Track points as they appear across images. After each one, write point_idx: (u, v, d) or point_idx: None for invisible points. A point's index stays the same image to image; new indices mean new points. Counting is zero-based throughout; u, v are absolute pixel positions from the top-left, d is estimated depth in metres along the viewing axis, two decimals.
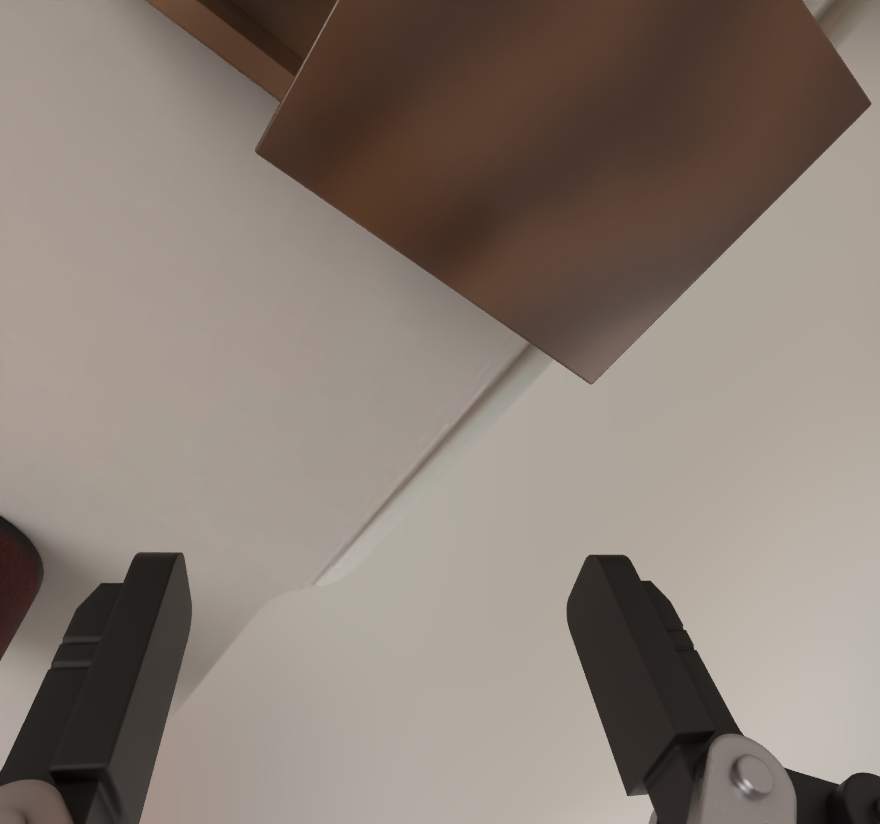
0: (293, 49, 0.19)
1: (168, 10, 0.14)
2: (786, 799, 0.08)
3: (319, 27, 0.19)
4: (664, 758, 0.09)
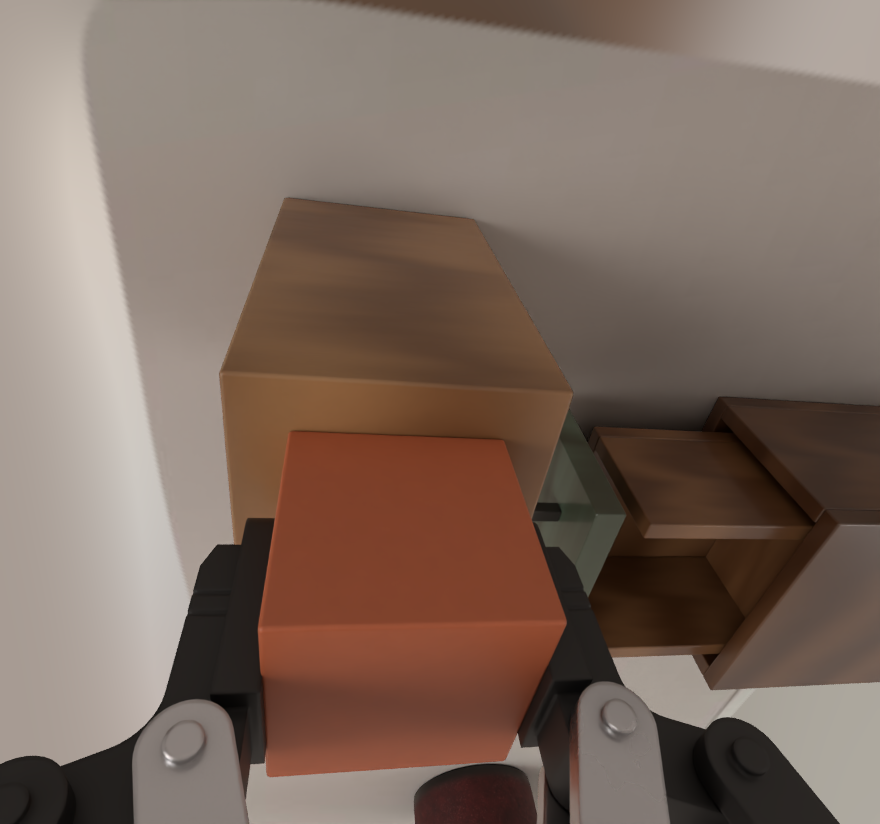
0: (655, 555, 0.31)
1: (650, 654, 0.27)
2: (647, 739, 0.08)
3: (668, 542, 0.31)
4: (547, 707, 0.09)
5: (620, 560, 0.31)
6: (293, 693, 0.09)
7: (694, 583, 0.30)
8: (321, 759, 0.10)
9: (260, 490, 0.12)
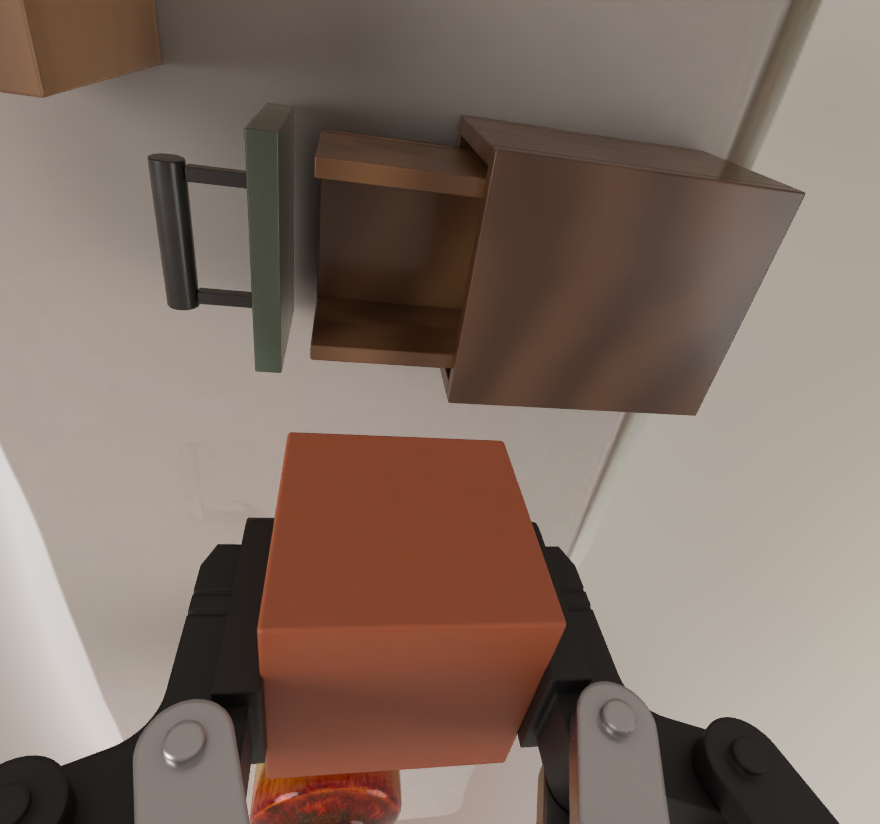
0: (426, 305, 0.32)
1: (384, 361, 0.27)
2: (647, 739, 0.08)
3: (436, 287, 0.31)
4: (546, 707, 0.09)
5: (386, 304, 0.31)
6: (292, 695, 0.09)
7: (456, 322, 0.30)
8: (321, 760, 0.10)
9: None
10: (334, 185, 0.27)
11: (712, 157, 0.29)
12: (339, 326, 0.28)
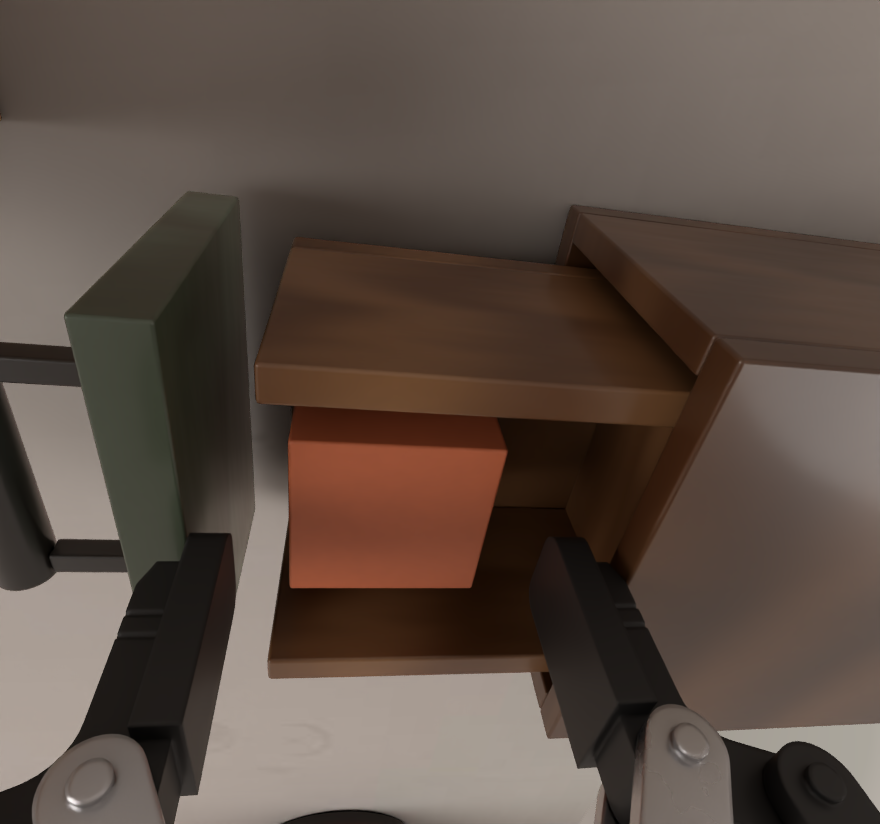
0: None
1: (408, 672, 0.14)
2: (719, 765, 0.08)
3: None
4: (609, 729, 0.09)
5: None
6: (311, 503, 0.12)
7: (530, 548, 0.18)
8: (331, 572, 0.13)
9: None
10: None
11: None
12: None
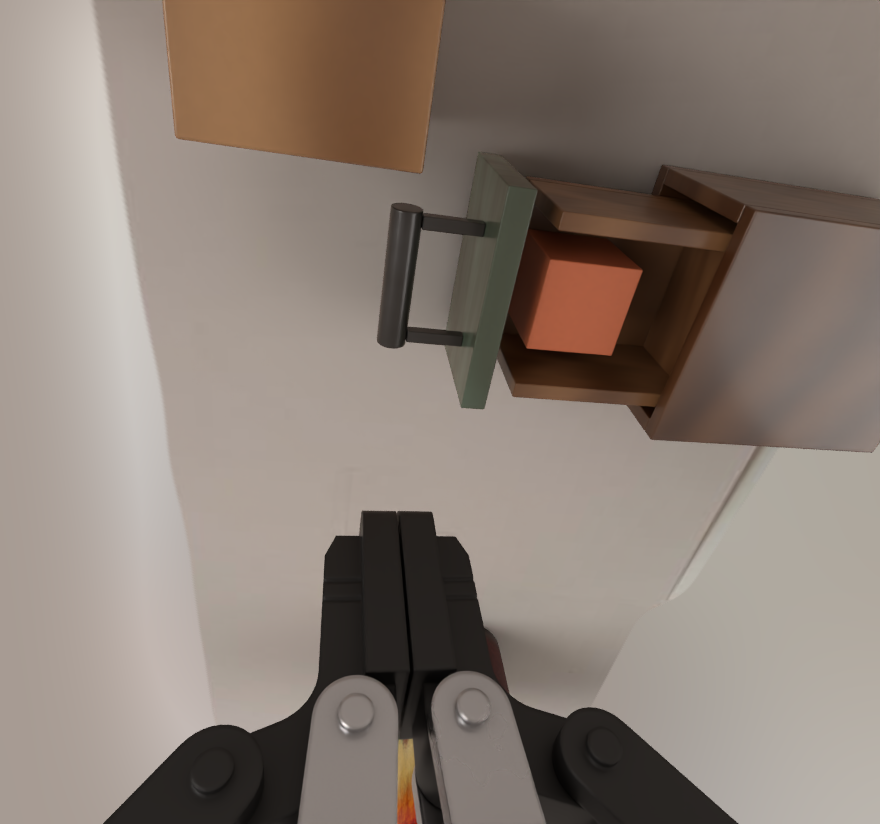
0: None
1: (579, 399, 0.28)
2: (500, 729, 0.08)
3: None
4: (415, 698, 0.09)
5: None
6: (550, 295, 0.26)
7: (628, 359, 0.31)
8: (548, 338, 0.27)
9: None
10: None
11: None
12: (530, 363, 0.29)
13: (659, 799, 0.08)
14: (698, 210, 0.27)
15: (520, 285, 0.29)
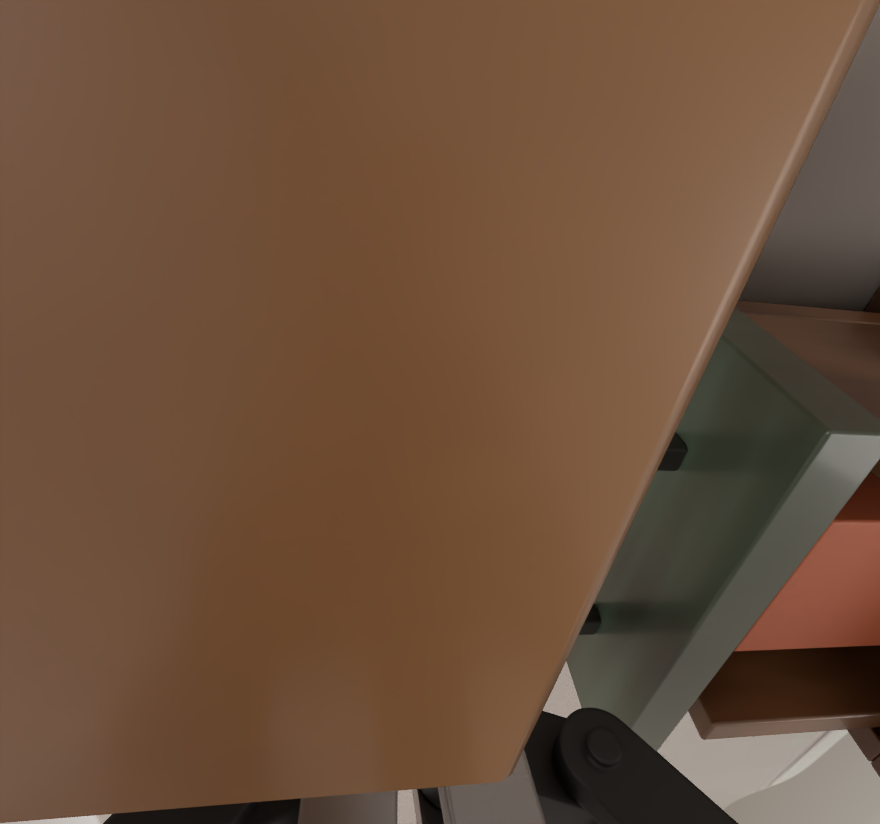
0: None
1: (823, 728, 0.14)
2: None
3: None
4: None
5: None
6: (810, 575, 0.12)
7: None
8: (780, 636, 0.13)
9: None
10: None
11: None
12: None
13: (659, 799, 0.08)
14: None
15: None
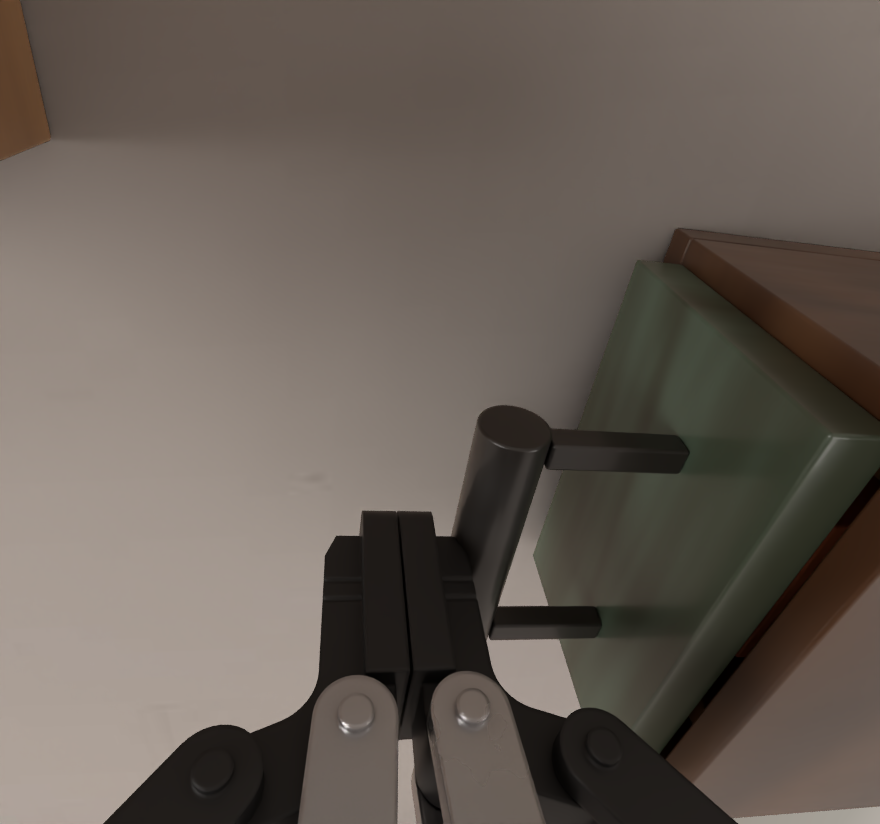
0: None
1: None
2: (500, 729, 0.08)
3: None
4: (415, 697, 0.09)
5: None
6: None
7: None
8: None
9: None
10: None
11: None
12: None
13: (659, 799, 0.08)
14: None
15: None
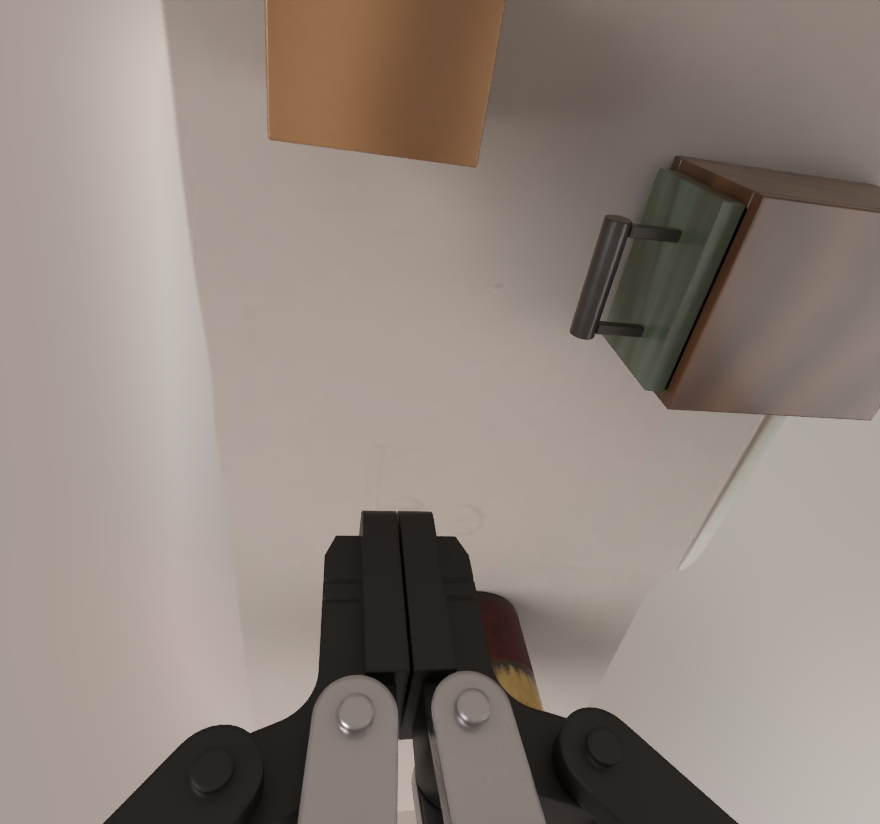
0: None
1: None
2: (500, 729, 0.08)
3: None
4: (415, 697, 0.09)
5: None
6: None
7: None
8: None
9: None
10: None
11: None
12: None
13: (659, 799, 0.08)
14: None
15: None
